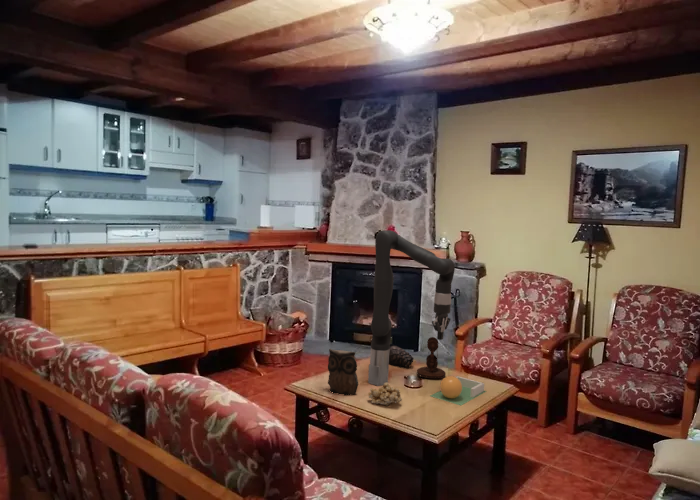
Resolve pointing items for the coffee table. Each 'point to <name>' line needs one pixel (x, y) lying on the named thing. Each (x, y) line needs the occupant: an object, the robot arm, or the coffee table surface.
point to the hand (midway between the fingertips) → (440, 339)
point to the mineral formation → (385, 395)
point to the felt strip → (459, 400)
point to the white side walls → (472, 386)
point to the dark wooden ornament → (431, 362)
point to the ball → (451, 387)
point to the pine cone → (399, 357)
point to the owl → (342, 372)
